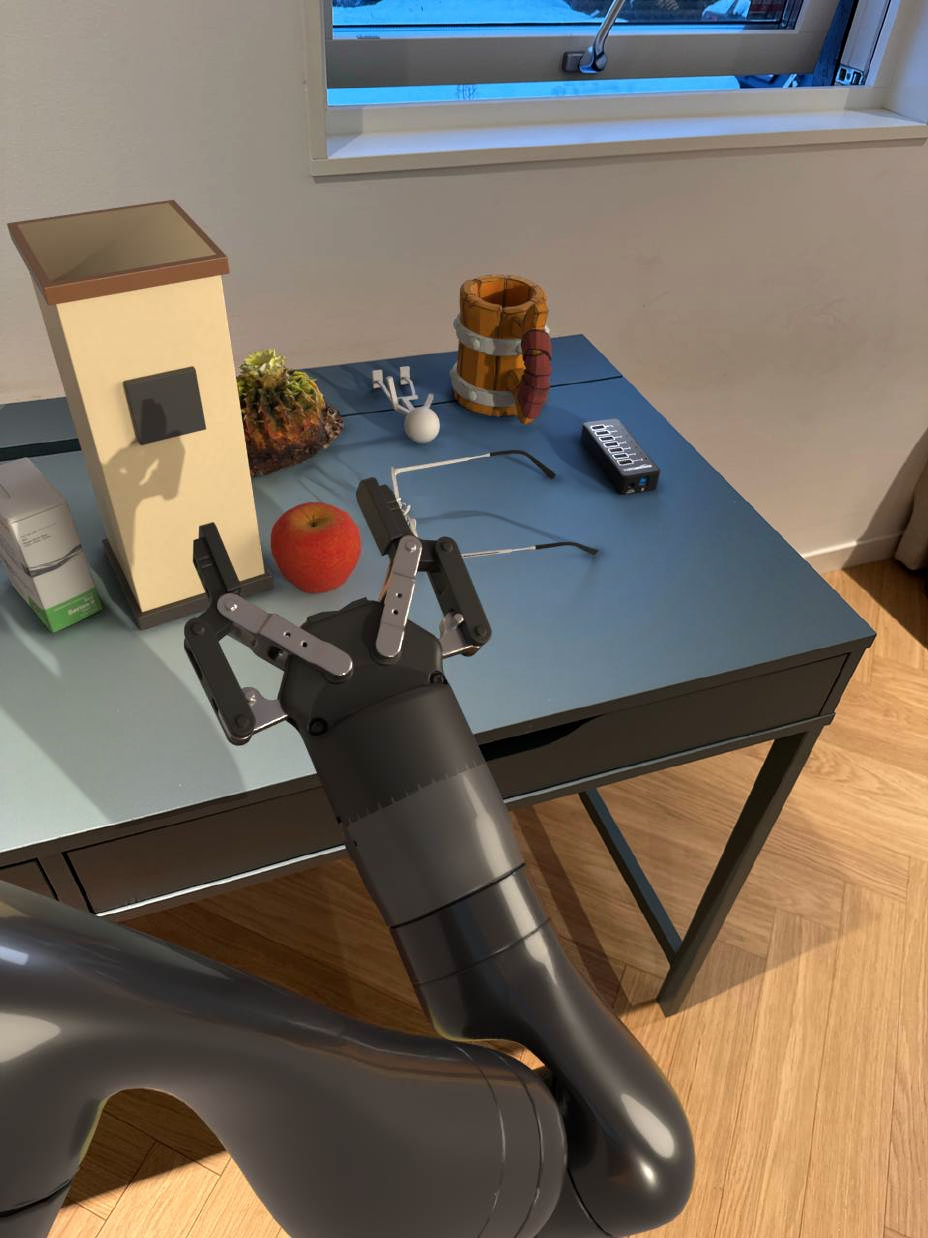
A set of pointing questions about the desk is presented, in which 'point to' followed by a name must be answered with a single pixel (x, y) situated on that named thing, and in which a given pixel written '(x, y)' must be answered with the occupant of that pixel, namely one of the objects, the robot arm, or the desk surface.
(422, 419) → the figurine
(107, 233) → the tall tapered bin
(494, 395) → the mug
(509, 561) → the desk surface
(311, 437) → the cactus
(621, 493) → the multiport hub
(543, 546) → the eyeglasses
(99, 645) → the desk surface
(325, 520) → the apple
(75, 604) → the ink box
